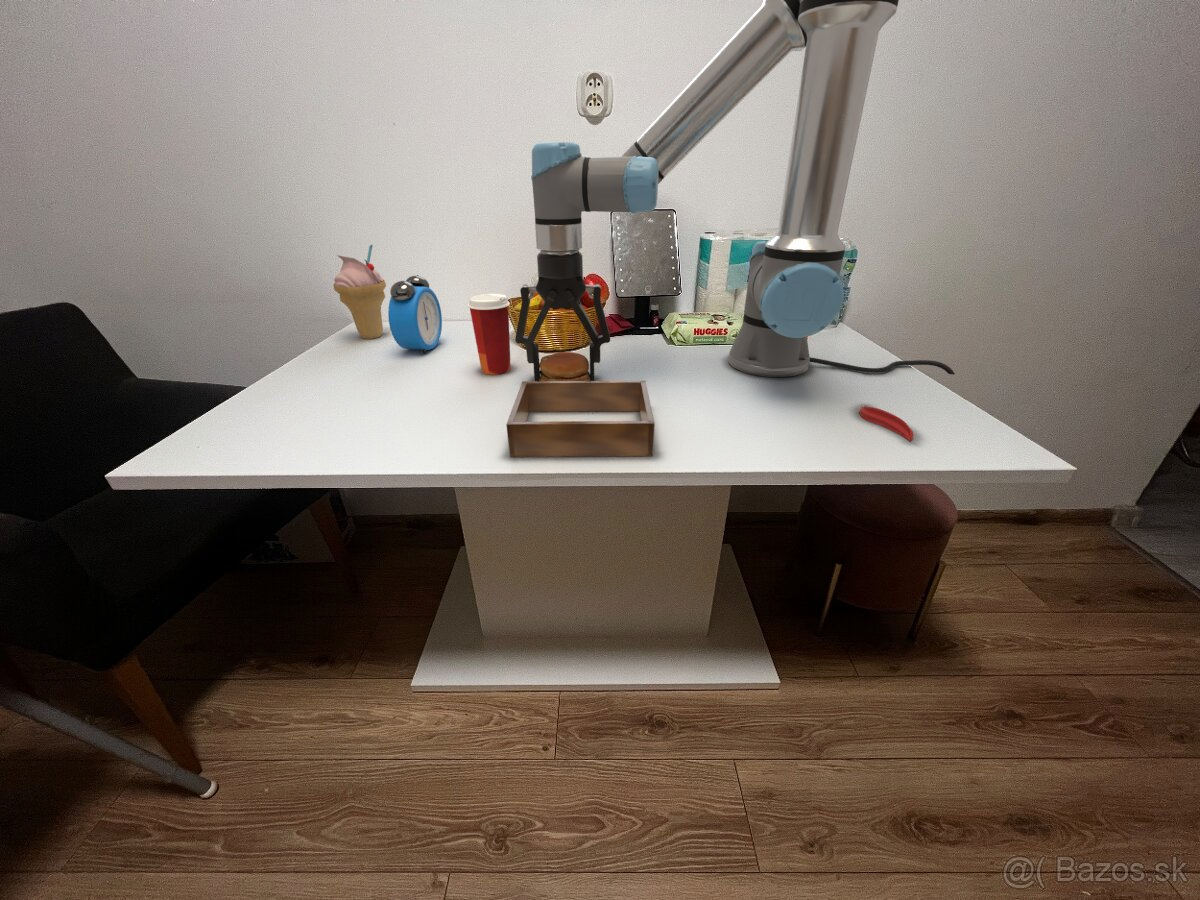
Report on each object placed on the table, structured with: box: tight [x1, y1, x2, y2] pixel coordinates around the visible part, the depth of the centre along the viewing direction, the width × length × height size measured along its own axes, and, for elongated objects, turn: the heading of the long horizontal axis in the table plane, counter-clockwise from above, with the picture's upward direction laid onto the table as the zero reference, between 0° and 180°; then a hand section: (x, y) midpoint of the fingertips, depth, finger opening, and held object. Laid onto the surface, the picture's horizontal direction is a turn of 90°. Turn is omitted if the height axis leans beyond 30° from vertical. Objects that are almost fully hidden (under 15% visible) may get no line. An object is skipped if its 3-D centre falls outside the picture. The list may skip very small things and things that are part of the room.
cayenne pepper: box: [859, 404, 915, 442], centre depth 78 cm, size 12×5×2 cm, turn 0°
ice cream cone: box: [333, 244, 387, 340], centre depth 117 cm, size 11×11×20 cm
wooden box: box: [506, 380, 655, 458], centre depth 75 cm, size 20×16×5 cm
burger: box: [539, 351, 590, 381], centre depth 94 cm, size 10×9×5 cm
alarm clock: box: [387, 274, 443, 355], centre depth 109 cm, size 13×6×15 cm, turn 173°
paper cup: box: [467, 293, 511, 376], centre depth 97 cm, size 8×8×14 cm
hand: (564, 379), depth 95 cm, fingers closed on burger, 9 cm apart
